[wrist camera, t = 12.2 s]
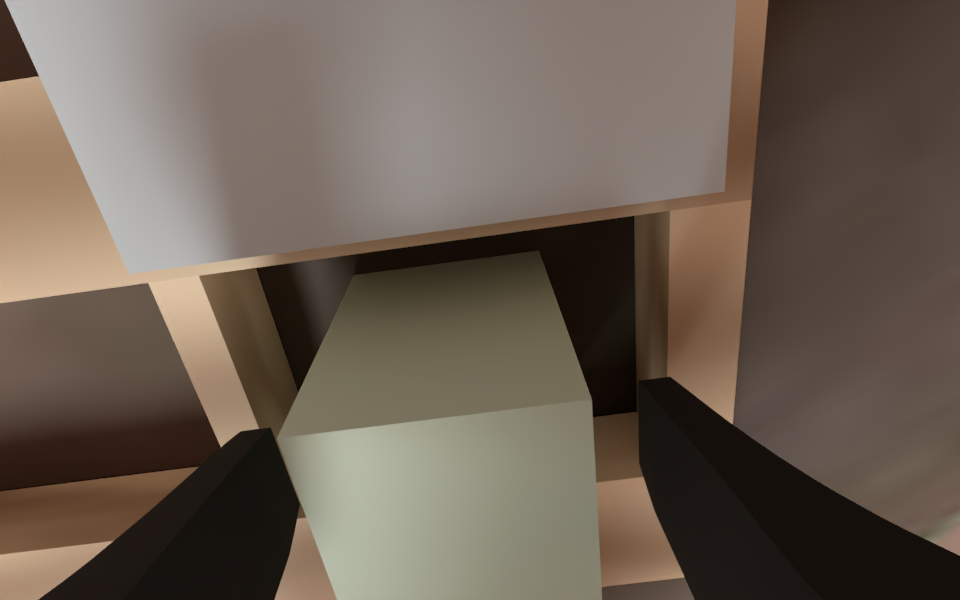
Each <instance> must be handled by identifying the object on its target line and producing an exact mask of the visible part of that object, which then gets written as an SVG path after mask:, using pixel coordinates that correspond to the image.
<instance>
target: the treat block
mask: <svg viewBox="0 0 960 600" xmlns="http://www.w3.org/2000/svg"><path fill="white" fill-rule="evenodd" d="M277 440H278V443H279V446H280V449H281V451H282V454H283V457H284V459H285V462H286V465H287V467H288V470H289V473H290V475H291V478H292V481H293V483H294V486H295V489H296V491H297V494H298V497H299V499H300V502H301V505H302V507H303V510H304V513H305V515H306V518H307V521H308V523H309V526H310V529H311V531H312V534H313V537H314V539H315V542H316V545H317V547H318V550H319V553H320V555H321V558H322V561H323V563H324V566H325V569H326V571H327V574H328V577H329V579H330V582H331V585H332V587H333V590H334V593H335V595H336V598H337V600H602V584H601V564H600V545H599V526H598V507H597V488H596V469H595V449H594V430H593V411H592V398H591V396H590V393H589V390H588V387H587V384H586V382H585V379H584V376H583V373H582V370H581V367H580V365H579V362H578V359H577V356H576V353H575V351H574V348H573V345H572V342H571V339H570V336H569V334H568V331H567V328H566V325H565V322H564V320H563V317H562V314H561V311H560V308H559V306H558V303H557V300H556V297H555V294H554V291H553V289H552V286H551V283H550V280H549V277H548V275H547V272H546V269H545V266H544V263H543V261H542V258H541V255H540V252H539V251H531V252H524V253H516V254H509V255H501V256H494V257H486V258H479V259H471V260H464V261H456V262H449V263H441V264H434V265H426V266H419V267H411V268H404V269H396V270H389V271H381V272H374V273H366V274H359V275H354V276H353V278H352V280H351V282H350V284H349V286H348V288H347V291H346V293H345V295H344V297H343V299H342V301H341V303H340V305H339V308H338V310H337V312H336V314H335V316H334V318H333V320H332V322H331V325H330V327H329V329H328V331H327V333H326V335H325V337H324V339H323V341H322V344H321V346H320V348H319V350H318V352H317V354H316V356H315V358H314V361H313V363H312V365H311V367H310V369H309V371H308V373H307V375H306V378H305V380H304V382H303V384H302V386H301V388H300V390H299V392H298V395H297V397H296V399H295V401H294V403H293V405H292V407H291V409H290V412H289V414H288V416H287V418H286V420H285V422H284V424H283V426H282V428H281V431H280V433H279V435H278V437H277Z"/></svg>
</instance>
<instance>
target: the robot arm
mask: <svg viewBox="0 0 960 600" xmlns="http://www.w3.org/2000/svg"><path fill="white" fill-rule="evenodd" d="M638 418H639V464H640V467H641V471H642V474H643V477H644V480H645V483H646V487H647V490H648V493H649V496H650V499H651V502H652V505H653V508H654V511H655V513H656V515H657V518H658V520H659V522H660V524H661V527H662V529H663V531H664V533H665V535H666V538H667V540H668V542H669V544H670V546H671V549H672V551H673V553H674V555H675V557H676V560H677V562H678V564H679V566H680V568H681V570H682V573H683V575H684V577H685V579H686V581H687V583H688V586H689V588H690V590H691V592H692V594H693V596H694V599H695V600H960V556H959V555H957V554H955V553H952V552H950V551H948V550H946V549H944V548H942V547H940V546H938V545H936V544H934V543H932V542H930V541H928V540H925V539H923V538H921V537H919V536H917V535H915V534H913V533H911V532H909V531H907V530H905V529H903V528H901V527H899V526H897V525H895V524H893V523H891V522H889V521H887V520H885V519H883V518H882V517H880V516H878V515H876V514H874V513H872V512H870V511H869V510H867V509H865V508H863V507H862V506H860V505H858V504H856V503H854V502H853V501H851V500H849V499H847V498H845V497H844V496H842V495H840V494H838V493H836V492H835V491H833V490H831V489H829V488H828V487H826V486H824V485H823V484H821V483H819V482H818V481H816V480H814V479H813V478H811V477H810V476H808V475H806V474H805V473H803V472H802V471H800V470H799V469H797V468H795V467H794V466H792V465H791V464H789V463H788V462H786V461H785V460H783V459H781V458H780V457H778V456H777V455H775V454H774V453H772V452H771V451H769V450H768V449H767V448H765V447H764V446H762V445H761V444H759V443H758V442H756V441H755V440H754V439H752V438H751V437H749V436H748V435H747V434H745V433H744V432H742V431H741V430H740V429H738V428H737V427H735V426H734V425H733V424H731V423H730V422H729V421H727V420H726V419H725V418H723V417H722V416H721V415H719V414H718V413H717V412H715V411H714V410H713V409H711V408H710V407H709V406H708V405H706V404H705V403H704V402H702V401H701V400H700V399H699V398H697V397H696V396H695V395H693V394H692V393H691V392H689V391H688V390H687V389H686V388H684V387H683V386H682V385H681V384H679V383H678V382H677V381H675V380H674V379H673V378H671V377H663V378H655V379H647V380H640V381H638ZM299 506H300V503H299V500H298V497H297V495H296V492H295V490H294V487H293V484H292V482H291V479H290V476H289V474H288V471H287V469H286V466H285V463H284V461H283V458H282V456H281V453H280V450H279V448H278V445H277V442H276V440H275V437H274V435H273V432H272V429H271V427H270V428H262V429H254V430H246V431H240V432H239V433H238V434H237V435H235V436H234V437H233V438H231V439H230V440H229V441H228V442H227V443H225V444H224V445H223V446H222V447H221V448H220V449H218V450H217V451H216V452H215V453H214V454H213V455H212V456H210V457H209V458H208V459H207V460H206V461H205V462H204V463H203V464H202V465H200V466H199V467H198V468H197V469H196V470H195V471H194V472H193V473H192V474H190V475H189V476H188V477H187V478H186V479H185V480H184V481H183V482H181V483H180V484H179V485H178V486H177V487H176V488H175V489H174V490H172V491H171V492H170V493H169V494H168V495H167V496H166V497H165V498H163V499H162V500H161V501H160V502H159V503H158V504H157V505H156V506H154V507H153V508H152V509H151V510H150V511H149V512H148V513H146V514H145V515H144V516H143V517H142V518H140V519H139V520H138V521H137V522H136V523H134V524H133V525H132V526H131V527H130V528H128V529H127V530H126V531H125V532H124V533H123V534H121V535H120V536H119V537H118V538H117V539H115V540H114V541H113V542H112V543H111V544H109V545H108V546H107V547H106V548H105V549H103V550H102V551H101V552H100V553H99V554H97V555H96V556H95V557H94V558H92V559H91V560H90V561H89V562H87V563H86V564H85V565H84V566H82V567H81V568H80V569H78V570H77V571H76V572H75V573H73V574H72V575H71V576H69V577H68V578H67V579H65V580H64V581H63V582H61V583H60V584H59V585H57V586H56V587H55V588H53V589H52V590H51V591H49V592H48V593H46V594H45V595H44V596H42V597H41V598H40V599H38V600H274V599H275V597H276V594H277V591H278V588H279V585H280V582H281V579H282V576H283V573H284V570H285V567H286V564H287V561H288V558H289V555H290V550H291V546H292V541H293V537H294V532H295V527H296V522H297V517H298V511H299Z"/></svg>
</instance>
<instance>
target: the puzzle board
mask: <svg viewBox="0 0 960 600" xmlns="http://www.w3.org/2000/svg"><path fill="white" fill-rule="evenodd" d="M767 10H768V0H736V17H735V33H734V49H733V65H732V81H731V98H730V114H729V130H728V146H727V162H726V179H725V192H717V193H710V194H703V195H696V196H689V197H681V198H674V199H667V200H660V201H653V202H645V203H638V204H631V205H624V206H616V207H609V208H602V209H595V210H588V211H580V212H573V213H566V214H559V215H552V216H544V217H537V218H530V219H523V220H515V221H508V222H501V223H494V224H487V225H479V226H472V227H465V228H458V229H451V230H443V231H436V232H429V233H422V234H415V235H407V236H400V237H393V238H386V239H378V240H371V241H364V242H357V243H350V244H342V245H335V246H328V247H321V248H314V249H306V250H299V251H292V252H285V253H278V254H270V255H263V256H256V257H249V258H241V259H234V260H227V261H220V262H213V263H205V264H198V265H191V266H184V267H177V268H169V269H162V270H155V271H148V272H141V273H133V274H129V273H128V271H127V269H126V266H125V264H124V262H123V260H122V258H121V255H120V253H119V251H118V249H117V247H116V244H115V242H114V240H113V238H112V236H111V233H110V231H109V229H108V227H107V225H106V222H105V220H104V218H103V216H102V214H101V211H100V209H99V207H98V205H97V203H96V200H95V198H94V196H93V194H92V192H91V189H90V187H89V185H88V183H87V181H86V178H85V176H84V174H83V172H82V170H81V167H80V165H79V163H78V161H77V159H76V156H75V154H74V152H73V150H72V148H71V145H70V143H69V141H68V139H67V137H66V134H65V132H64V130H63V128H62V126H61V123H60V121H59V119H58V117H57V115H56V112H55V110H54V108H53V106H52V104H51V101H50V99H49V97H48V95H47V93H46V90H45V88H44V86H43V84H42V82H41V79H40V77H39V76H37V77H30V78H24V79H17V80H11V81H4V82H0V303H5V302H12V301H20V300H27V299H34V298H41V297H49V296H56V295H63V294H70V293H78V292H85V291H92V290H99V289H107V288H114V287H121V286H128V285H136V284H143V283H149V286H150V288H151V290H152V292H153V295H154V297H155V299H156V302H157V304H158V306H159V308H160V311H161V313H162V315H163V317H164V320H165V322H166V324H167V326H168V329H169V331H170V333H171V336H172V338H173V340H174V342H175V345H176V347H177V349H178V351H179V354H180V356H181V358H182V361H183V363H184V365H185V367H186V370H187V372H188V374H189V376H190V379H191V381H192V383H193V385H194V388H195V390H196V392H197V395H198V397H199V399H200V401H201V404H202V406H203V408H204V410H205V413H206V415H207V417H208V419H209V422H210V424H211V426H212V429H213V431H214V433H215V435H216V438H217V440H218V442H219V444H220V447H222V446H223V445H224V444H225V443H227V442H228V441H229V440H230V439H231V438H233V437H234V436H235V435H237V434H238V433H239V432H240V431H246V430H254V429H262V428H270V427H271V429H272V432H273V435H274V437H275V440H276V442H277V445H278V448H279V450H280V453H281V456H282V458H283V461H284V463H285V466H286V469H287V471H288V474H289V476H290V479H291V482H292V484H293V487H294V490H295V492H296V495H297V497H298V494H297V491H296V489H295V486H294V483H293V481H292V478H291V475H290V473H289V470H288V467H287V465H286V462H285V459H284V457H283V454H282V451H281V449H280V446H279V443H278V440H277V437H278V435H279V433H280V431H281V428H282V426H283V424H284V422H285V420H286V418H287V416H288V414H289V412H290V409H291V407H292V405H293V403H294V401H295V399H296V397H297V395H298V390H297V387H296V384H295V381H294V378H293V375H292V372H291V369H290V366H289V364H288V361H287V358H286V355H285V352H284V349H283V346H282V343H281V340H280V337H279V334H278V331H277V328H276V325H275V323H274V320H273V317H272V314H271V311H270V308H269V305H268V302H267V299H266V296H265V293H264V290H263V287H262V285H261V282H260V279H259V276H258V273H257V270H256V268H259V267H266V266H273V265H281V264H288V263H295V262H302V261H310V260H317V259H324V258H331V257H339V256H346V255H353V254H360V253H368V252H375V251H382V250H389V249H397V248H404V247H411V246H418V245H426V244H433V243H440V242H447V241H455V240H462V239H469V238H476V237H484V236H491V235H498V234H505V233H513V232H520V231H527V230H535V229H542V228H549V227H556V226H564V225H571V224H578V223H585V222H593V221H600V220H607V219H614V218H622V217H629V216H634V243H635V325H636V406H637V412H631V413H623V414H615V415H607V416H599V417H593V430H594V449H595V469H596V488H597V507H598V526H599V545H600V564H601V584H602V587H605V586H614V585H623V584H632V583H640V582H649V581H658V580H667V579H675V578H684V575H683V573H682V570H681V568H680V566H679V564H678V562H677V560H676V557H675V555H674V553H673V551H672V549H671V546H670V544H669V542H668V540H667V538H666V535H665V533H664V531H663V529H662V527H661V524H660V522H659V520H658V518H657V515H656V513H655V511H654V508H653V505H652V502H651V499H650V496H649V493H648V490H647V487H646V483H645V480H644V477H643V474H642V471H641V467H640V464H639V418H638V381H640V380H647V379H655V378H663V377H671V378H673V379H674V380H675V381H677V382H678V383H679V384H681V385H682V386H683V387H684V388H686V389H687V390H688V391H689V392H691V393H692V394H693V395H695V396H696V397H697V398H699V399H700V400H701V401H702V402H704V403H705V404H706V405H708V406H709V407H710V408H711V409H713V410H714V411H715V412H717V413H718V414H719V415H721V416H722V417H723V418H725V419H726V420H727V421H729V422H730V423H731V424H733V414H734V402H735V390H736V378H737V366H738V354H739V343H740V331H741V319H742V307H743V295H744V283H745V271H746V259H747V248H748V236H749V224H750V212H751V200H752V188H753V176H754V164H755V153H756V141H757V129H758V117H759V105H760V93H761V81H762V69H763V58H764V46H765V34H766V22H767ZM197 468H198V467H191V468H183V469H175V470H167V471H159V472H151V473H143V474H135V475H127V476H119V477H111V478H103V479H95V480H87V481H79V482H71V483H63V484H55V485H47V486H39V487H31V488H23V489H15V490H7V491H0V600H38V599H40V598H41V597H42V596H44V595H45V594H46V593H48V592H49V591H51V590H52V589H53V588H55V587H56V586H57V585H59V584H60V583H61V582H63V581H64V580H65V579H67V578H68V577H69V576H71V575H72V574H73V573H75V572H76V571H77V570H78V569H80V568H81V567H82V566H84V565H85V564H86V563H87V562H89V561H90V560H91V559H92V558H94V557H95V556H96V555H97V554H99V553H100V552H101V551H102V550H103V549H105V548H106V547H107V546H108V545H109V544H111V543H112V542H113V541H114V540H115V539H117V538H118V537H119V536H120V535H121V534H123V533H124V532H125V531H126V530H127V529H128V528H130V527H131V526H132V525H133V524H134V523H136V522H137V521H138V520H139V519H140V518H142V517H143V516H144V515H145V514H146V513H148V512H149V511H150V510H151V509H152V508H153V507H154V506H156V505H157V504H158V503H159V502H160V501H161V500H162V499H163V498H165V497H166V496H167V495H168V494H169V493H170V492H171V491H172V490H174V489H175V488H176V487H177V486H178V485H179V484H180V483H181V482H183V481H184V480H185V479H186V478H187V477H188V476H189V475H190V474H192V473H193V472H194V471H195V470H196V469H197ZM298 500H299V503H300V506H299V511H298V517H297V522H296V527H295V532H294V537H293V541H292V546H291V550H290V555H289V558H288V561H287V564H286V567H285V570H284V573H283V576H282V579H281V582H280V585H279V588H278V591H277V594H276V597H275V599H274V600H337V598H336V595H335V593H334V590H333V587H332V585H331V582H330V579H329V577H328V574H327V571H326V569H325V566H324V563H323V561H322V558H321V555H320V553H319V550H318V547H317V545H316V542H315V539H314V537H313V534H312V531H311V529H310V526H309V523H308V521H307V518H306V515H305V513H304V510H303V507H302V505H301V502H300V499H299V497H298Z"/></svg>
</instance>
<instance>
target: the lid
mask: <svg viewBox="0 0 960 600" xmlns="http://www.w3.org/2000/svg"><path fill="white" fill-rule="evenodd" d="M5 2H6V5H7V7H8V9H9V11H10V13H11V16H12V18H13V20H14V22H15V24H16V27H17V29H18V31H19V33H20V35H21V38H22V40H23V42H24V44H25V46H26V49H27V51H28V53H29V55H30V57H31V60H32V62H33V64H34V66H35V68H36V71H37V73H38V75H39V77H40V79H41V82H42V84H43V86H44V88H45V90H46V93H47V95H48V97H49V99H50V101H51V104H52V106H53V108H54V110H55V112H56V115H57V117H58V119H59V121H60V123H61V126H62V128H63V130H64V132H65V134H66V137H67V139H68V141H69V143H70V145H71V148H72V150H73V152H74V154H75V156H76V159H77V161H78V163H79V165H80V167H81V170H82V172H83V174H84V176H85V178H86V181H87V183H88V185H89V187H90V189H91V192H92V194H93V196H94V198H95V200H96V203H97V205H98V207H99V209H100V211H101V214H102V216H103V218H104V220H105V222H106V225H107V227H108V229H109V231H110V233H111V236H112V238H113V240H114V242H115V244H116V247H117V249H118V251H119V253H120V255H121V258H122V260H123V262H124V264H125V266H126V269H127V271H128V273H129V274H133V273H141V272H148V271H155V270H162V269H169V268H177V267H184V266H191V265H198V264H205V263H213V262H220V261H227V260H234V259H241V258H249V257H256V256H263V255H270V254H278V253H285V252H292V251H299V250H306V249H314V248H321V247H328V246H335V245H342V244H350V243H357V242H364V241H371V240H378V239H386V238H393V237H400V236H407V235H415V234H422V233H429V232H436V231H443V230H451V229H458V228H465V227H472V226H479V225H487V224H494V223H501V222H508V221H515V220H523V219H530V218H537V217H544V216H552V215H559V214H566V213H573V212H580V211H588V210H595V209H602V208H609V207H616V206H624V205H631V204H638V203H645V202H653V201H660V200H667V199H674V198H681V197H689V196H696V195H703V194H710V193H717V192H725V179H726V162H727V146H728V130H729V114H730V98H731V81H732V65H733V49H734V33H735V17H736V0H5Z"/></svg>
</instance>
